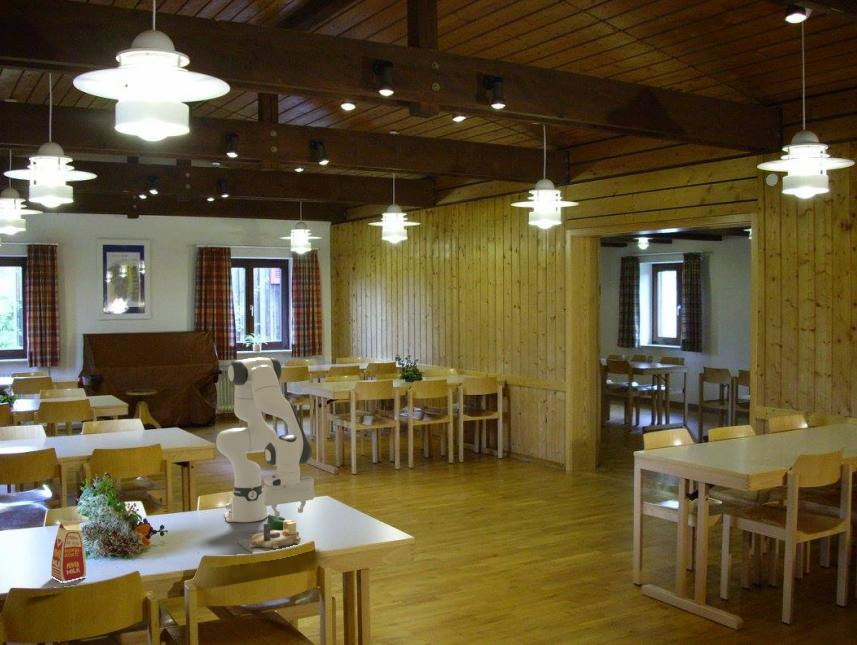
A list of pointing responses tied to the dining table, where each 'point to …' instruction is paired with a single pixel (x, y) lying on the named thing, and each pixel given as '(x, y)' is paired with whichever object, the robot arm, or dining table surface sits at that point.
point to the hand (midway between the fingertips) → (288, 514)
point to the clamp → (275, 522)
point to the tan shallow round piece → (273, 538)
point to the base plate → (246, 544)
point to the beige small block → (289, 527)
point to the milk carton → (68, 552)
